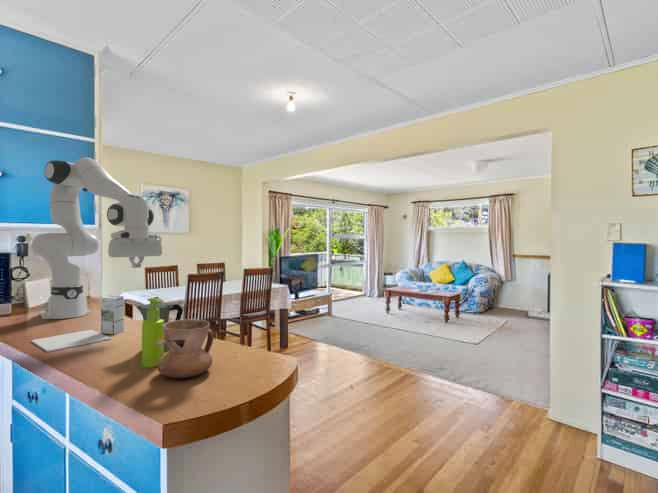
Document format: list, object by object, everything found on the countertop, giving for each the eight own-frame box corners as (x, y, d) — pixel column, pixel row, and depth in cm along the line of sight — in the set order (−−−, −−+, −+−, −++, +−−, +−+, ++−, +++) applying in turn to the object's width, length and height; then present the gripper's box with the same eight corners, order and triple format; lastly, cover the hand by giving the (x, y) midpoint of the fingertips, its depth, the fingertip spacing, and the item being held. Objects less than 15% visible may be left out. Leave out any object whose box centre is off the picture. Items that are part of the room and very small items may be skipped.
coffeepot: (128, 354, 113) (129, 299, 113) (143, 345, 123) (143, 294, 122) (176, 354, 114) (177, 299, 114) (187, 345, 123) (188, 295, 123)
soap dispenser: (151, 370, 101) (151, 301, 100) (137, 365, 104) (138, 298, 104) (169, 364, 106) (170, 298, 105) (156, 359, 109) (156, 295, 109)
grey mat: (31, 341, 125) (31, 340, 125) (91, 330, 140) (91, 329, 140) (47, 352, 114) (47, 350, 114) (111, 339, 129) (111, 337, 129)
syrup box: (124, 331, 140) (124, 295, 140) (113, 335, 135) (114, 297, 134) (111, 330, 141) (111, 294, 141) (100, 334, 135) (100, 297, 135)
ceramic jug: (172, 390, 88) (174, 334, 88) (141, 376, 96) (143, 324, 96) (228, 369, 103) (230, 321, 103) (197, 359, 111) (199, 314, 111)
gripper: (157, 234, 154) (157, 265, 155) (106, 233, 138) (106, 268, 138) (165, 234, 151) (164, 266, 151) (113, 233, 134) (113, 269, 134)
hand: (136, 267), depth 144 cm, fingers closed
